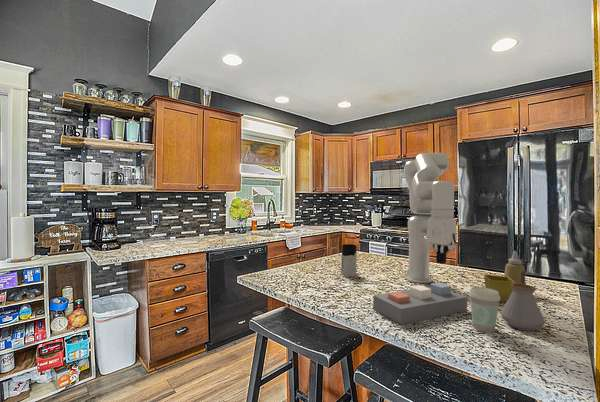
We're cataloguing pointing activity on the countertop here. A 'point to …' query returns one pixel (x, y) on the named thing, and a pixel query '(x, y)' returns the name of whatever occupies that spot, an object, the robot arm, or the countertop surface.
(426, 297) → the key white
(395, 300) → the key red
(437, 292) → the key blue
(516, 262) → the squeeze bottle
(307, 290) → the countertop surface
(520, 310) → the coffee pot
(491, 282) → the flower pot
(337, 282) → the countertop surface
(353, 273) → the glass holder
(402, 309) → the console
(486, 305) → the coffee cup
